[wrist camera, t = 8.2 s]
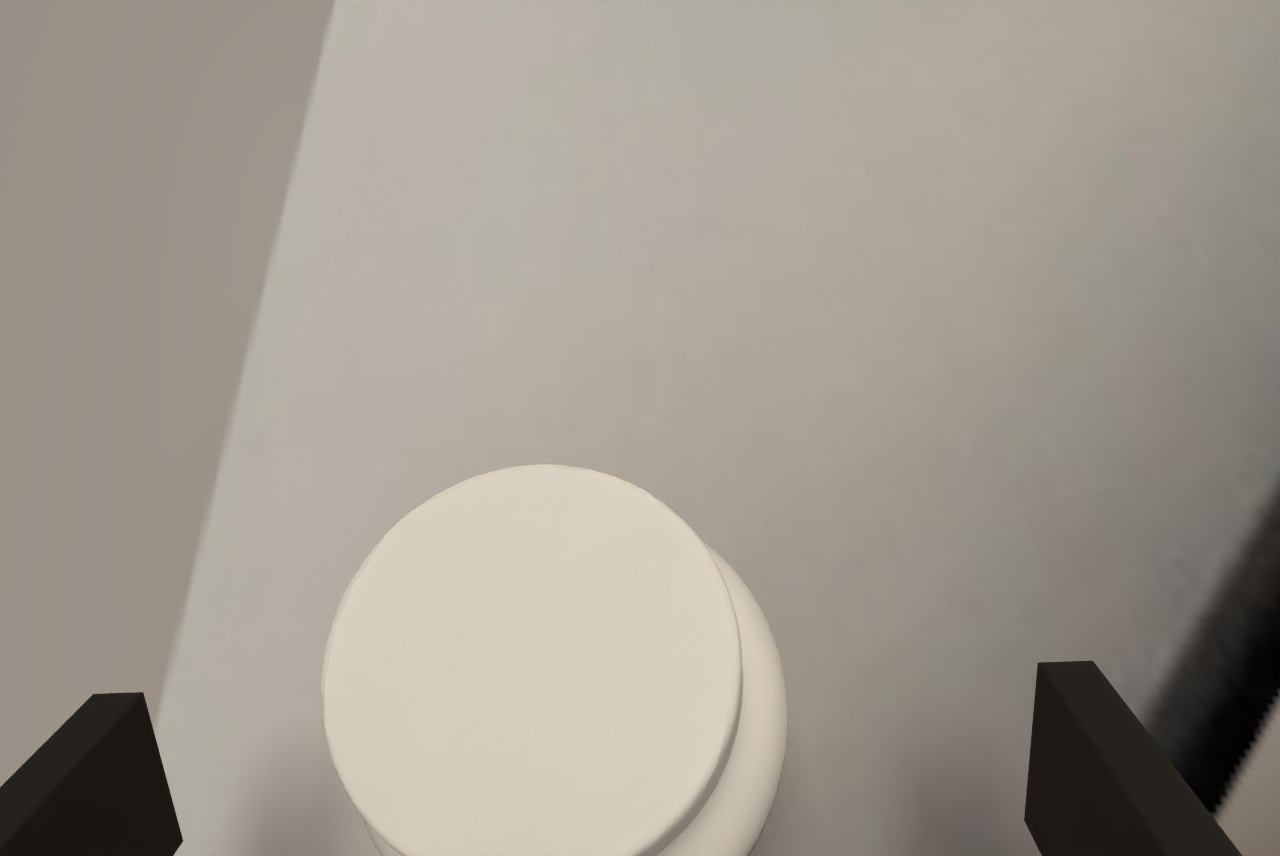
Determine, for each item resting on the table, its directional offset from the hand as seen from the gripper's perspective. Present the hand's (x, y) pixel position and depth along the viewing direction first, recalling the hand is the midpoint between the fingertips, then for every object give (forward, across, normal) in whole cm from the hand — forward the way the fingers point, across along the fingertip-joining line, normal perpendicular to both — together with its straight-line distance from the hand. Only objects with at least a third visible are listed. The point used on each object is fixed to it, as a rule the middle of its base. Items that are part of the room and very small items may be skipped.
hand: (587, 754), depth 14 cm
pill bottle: (+5, 0, -4) cm, 7 cm away
